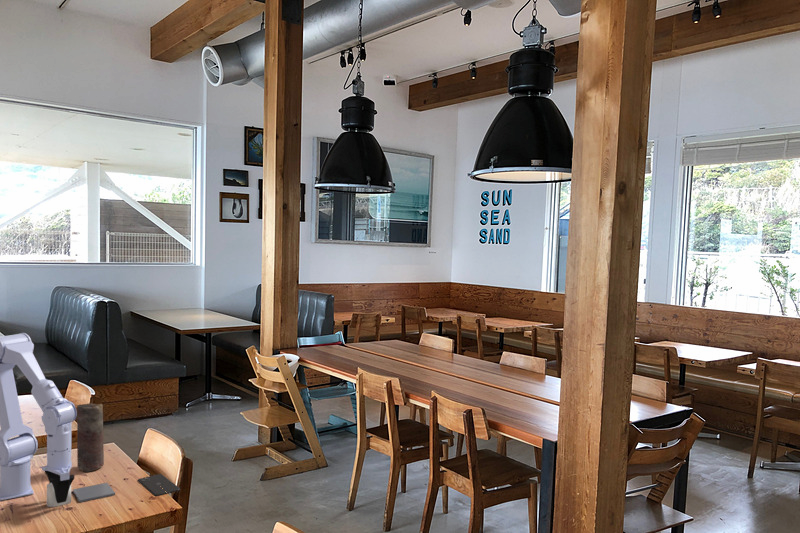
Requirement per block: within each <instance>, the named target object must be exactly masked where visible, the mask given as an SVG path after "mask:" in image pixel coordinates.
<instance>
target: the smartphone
mask: <svg viewBox="0 0 800 533" xmlns="http://www.w3.org/2000/svg"><path fill="white" fill-rule="evenodd" d="M138 481H139V482H140V483H141V484H142V485H143V486H142V485H141V484H140V483H139V482H138ZM137 482H138V483H139V484H140V485H141V486H142V487H144V488H145V489H146V490H147V491H149V493H151V495H153V496H154V497H159V496H161V497H162V496H164V495H168V494H173V493H176V492H179V491H181V488H180V487H179V486H178V485H176V484H175V483H174V482H173V481H171V480H170V479H168V478H167V476H165V475H163V474H161V473H158V474H154V475H150V476H145V477H141V478H138V479H137ZM160 486H161V487H160ZM162 488H163V489H162ZM165 491H166V492H167V493H166V492H165Z"/></svg>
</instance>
